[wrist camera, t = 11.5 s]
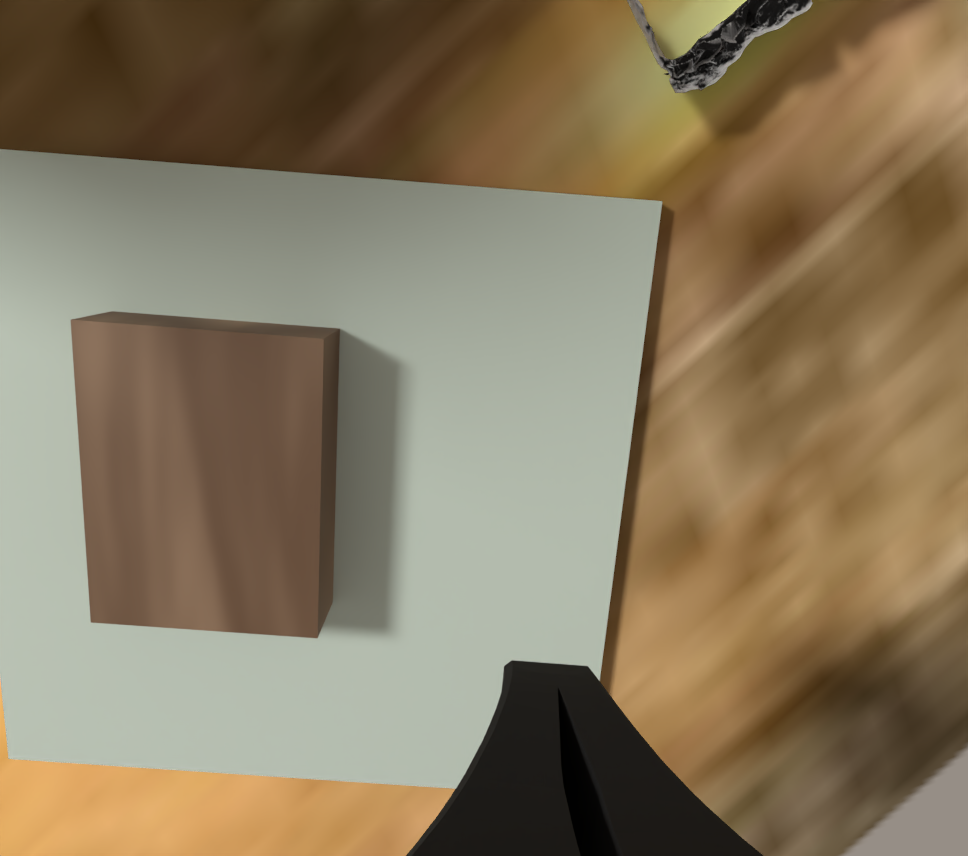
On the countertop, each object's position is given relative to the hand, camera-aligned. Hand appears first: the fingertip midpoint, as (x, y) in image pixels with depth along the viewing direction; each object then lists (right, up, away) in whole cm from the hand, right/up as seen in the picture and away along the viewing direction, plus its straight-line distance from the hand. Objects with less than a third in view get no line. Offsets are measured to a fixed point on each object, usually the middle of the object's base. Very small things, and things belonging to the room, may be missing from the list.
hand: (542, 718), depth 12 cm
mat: (-6, +2, +10) cm, 12 cm away
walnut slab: (-5, +3, +8) cm, 10 cm away
